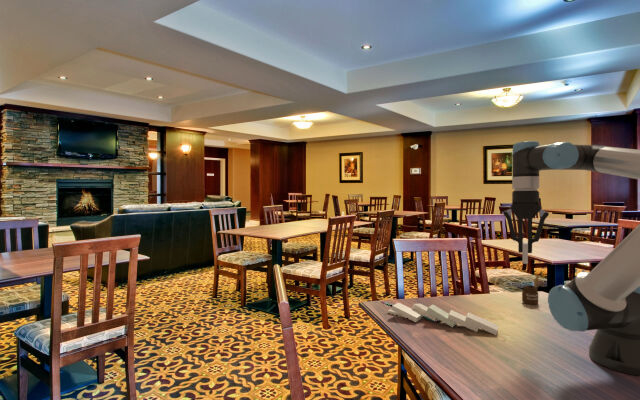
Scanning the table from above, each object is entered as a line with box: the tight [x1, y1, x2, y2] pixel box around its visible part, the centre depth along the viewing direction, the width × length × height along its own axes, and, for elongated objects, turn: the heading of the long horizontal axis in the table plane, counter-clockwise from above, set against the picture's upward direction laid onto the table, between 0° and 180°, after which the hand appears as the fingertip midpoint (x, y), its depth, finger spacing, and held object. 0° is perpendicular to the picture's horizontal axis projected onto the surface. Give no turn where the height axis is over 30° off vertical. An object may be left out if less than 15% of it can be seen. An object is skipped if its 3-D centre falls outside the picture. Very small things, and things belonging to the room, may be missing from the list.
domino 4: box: [427, 304, 458, 328], centre depth 127 cm, size 2×5×10 cm
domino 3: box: [411, 303, 441, 322], centre depth 132 cm, size 2×5×10 cm
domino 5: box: [447, 309, 480, 333], centre depth 123 cm, size 2×5×10 cm
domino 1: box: [386, 308, 407, 319], centre depth 136 cm, size 2×5×10 cm
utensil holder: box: [521, 274, 540, 306], centre depth 149 cm, size 6×6×12 cm
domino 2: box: [391, 302, 423, 323], centre depth 132 cm, size 2×5×10 cm
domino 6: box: [465, 312, 499, 336], centre depth 120 cm, size 2×5×10 cm
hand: (525, 262), depth 114 cm, fingers closed
